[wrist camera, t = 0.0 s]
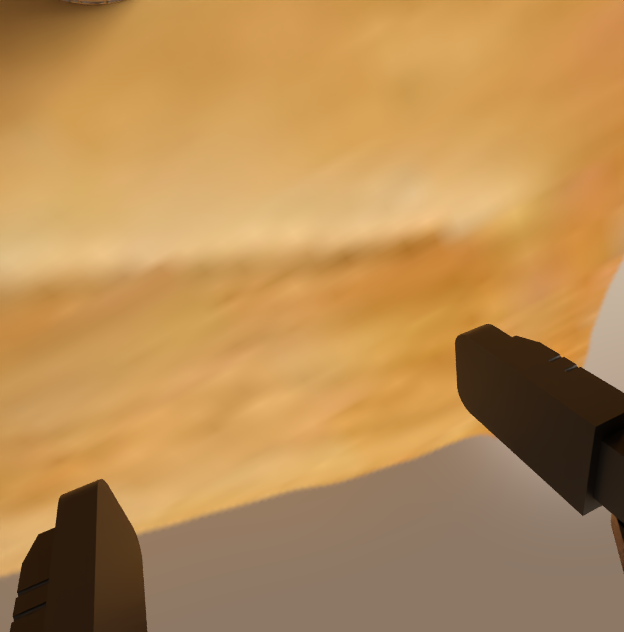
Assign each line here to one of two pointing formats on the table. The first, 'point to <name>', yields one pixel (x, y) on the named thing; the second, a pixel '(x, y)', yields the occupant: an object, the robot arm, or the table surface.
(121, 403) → the table surface
